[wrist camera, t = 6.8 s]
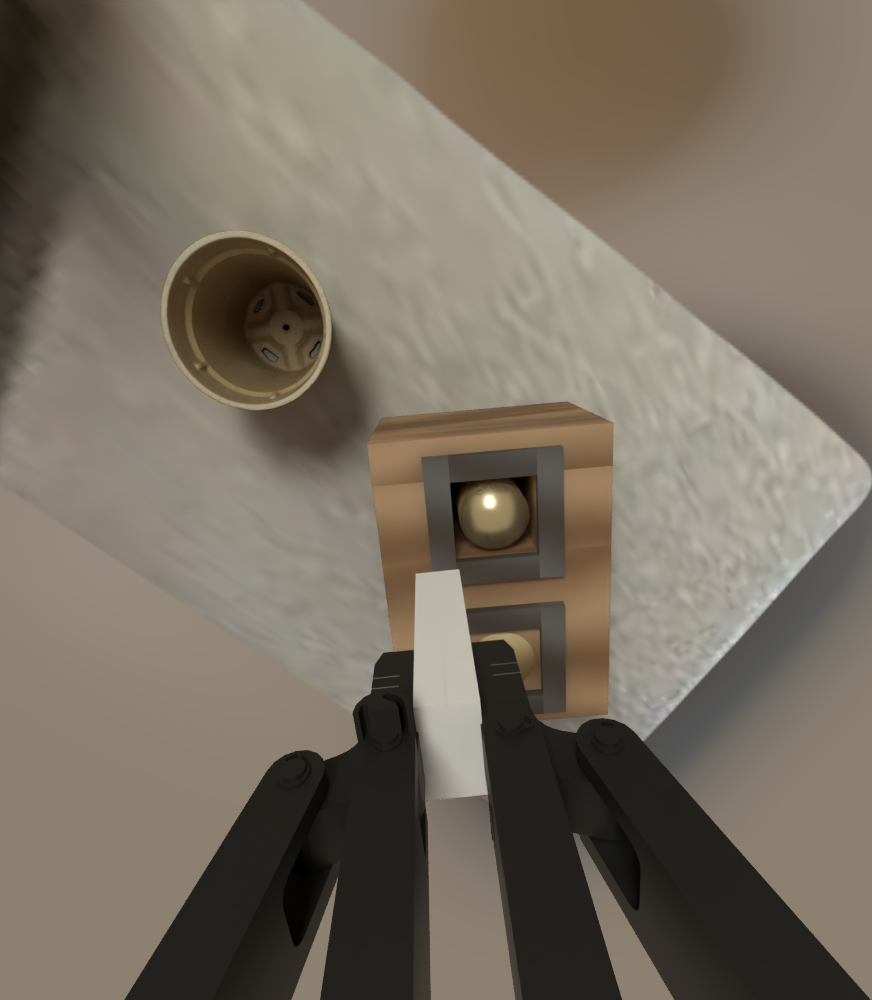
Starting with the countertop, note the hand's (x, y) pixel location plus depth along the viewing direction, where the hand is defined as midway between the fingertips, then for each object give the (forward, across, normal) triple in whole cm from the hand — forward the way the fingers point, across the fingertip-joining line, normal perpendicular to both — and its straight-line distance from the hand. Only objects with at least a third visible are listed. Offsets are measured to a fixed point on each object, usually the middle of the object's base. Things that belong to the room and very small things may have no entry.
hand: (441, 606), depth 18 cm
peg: (+21, +4, -2) cm, 21 cm away
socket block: (+23, +4, -7) cm, 24 cm away
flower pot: (+24, -9, +10) cm, 27 cm away
